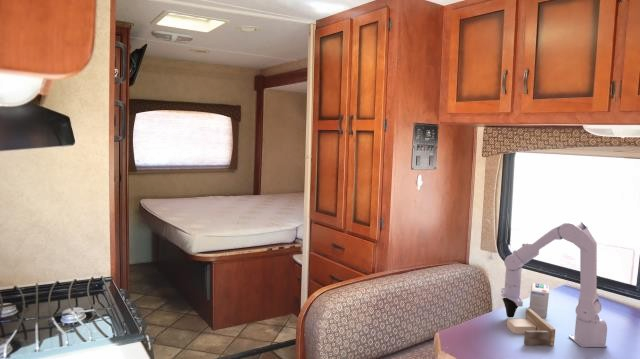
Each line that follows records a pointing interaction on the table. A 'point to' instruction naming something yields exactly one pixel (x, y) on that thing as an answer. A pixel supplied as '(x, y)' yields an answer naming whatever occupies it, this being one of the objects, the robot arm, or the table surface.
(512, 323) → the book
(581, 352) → the table surface
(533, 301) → the light bulb box
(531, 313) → the shelf
